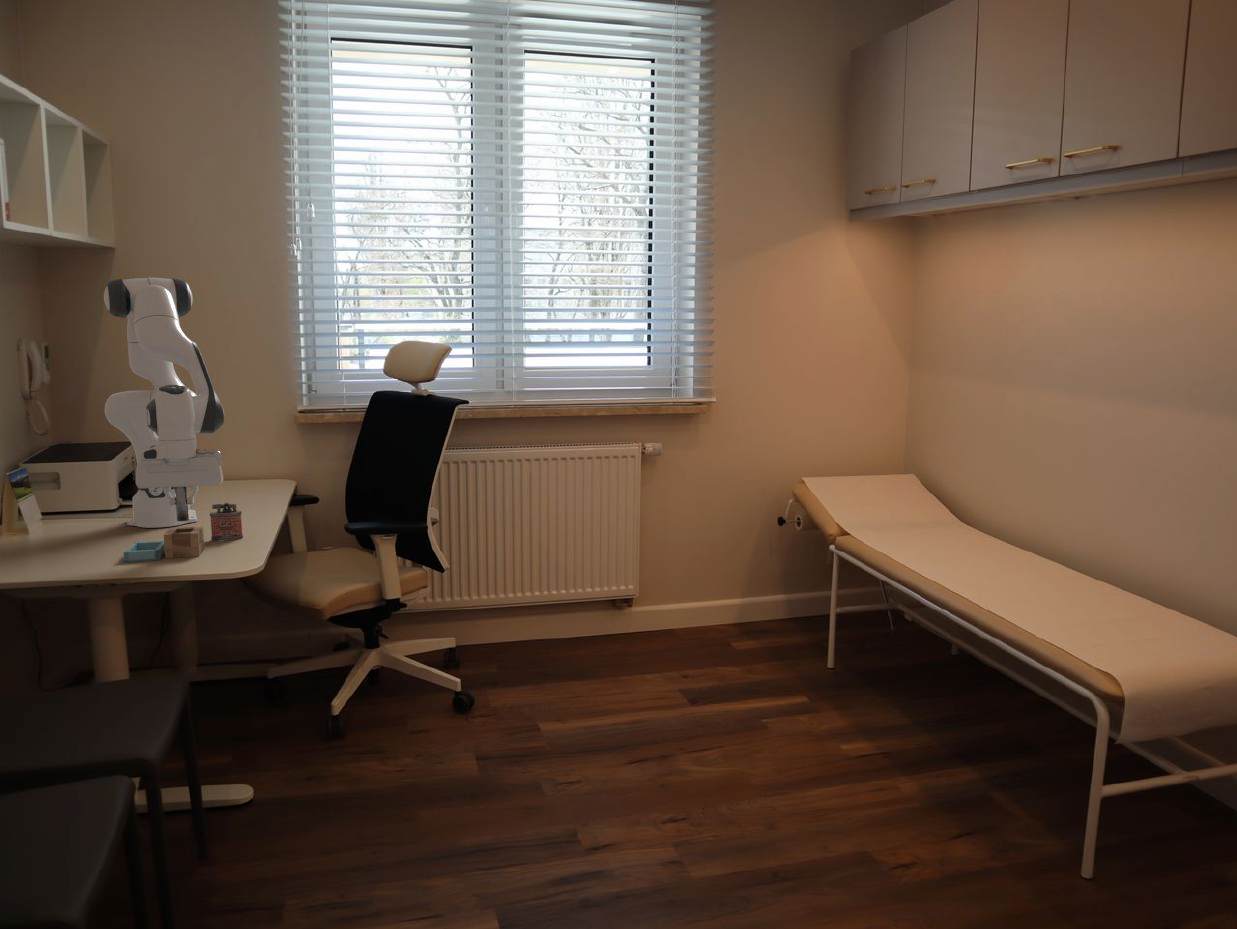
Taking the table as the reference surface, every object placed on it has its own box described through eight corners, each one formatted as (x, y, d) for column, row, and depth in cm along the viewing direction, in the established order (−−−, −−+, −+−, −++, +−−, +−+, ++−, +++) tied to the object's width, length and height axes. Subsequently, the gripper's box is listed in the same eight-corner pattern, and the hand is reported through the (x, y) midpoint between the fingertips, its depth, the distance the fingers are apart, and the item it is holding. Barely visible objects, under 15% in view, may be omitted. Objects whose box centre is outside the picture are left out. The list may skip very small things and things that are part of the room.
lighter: (243, 536, 273) (240, 500, 271) (243, 539, 270) (240, 503, 268) (211, 538, 270) (209, 502, 268) (211, 541, 267) (208, 505, 265)
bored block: (171, 550, 256) (169, 528, 255) (204, 549, 258) (203, 526, 257) (165, 558, 249) (163, 534, 248) (199, 556, 251) (197, 533, 250)
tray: (134, 551, 255) (133, 542, 255) (168, 550, 257) (167, 540, 257) (124, 562, 245) (123, 552, 244) (159, 560, 246) (158, 550, 246)
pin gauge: (178, 519, 253) (175, 477, 251) (189, 518, 254) (186, 476, 252) (175, 521, 250) (172, 478, 249) (187, 521, 251) (184, 478, 249)
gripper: (223, 447, 255) (227, 500, 257) (137, 449, 250) (141, 503, 252) (220, 450, 249) (223, 504, 251) (131, 453, 244) (136, 508, 246)
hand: (181, 504), depth 251 cm, fingers closed on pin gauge, 3 cm apart
